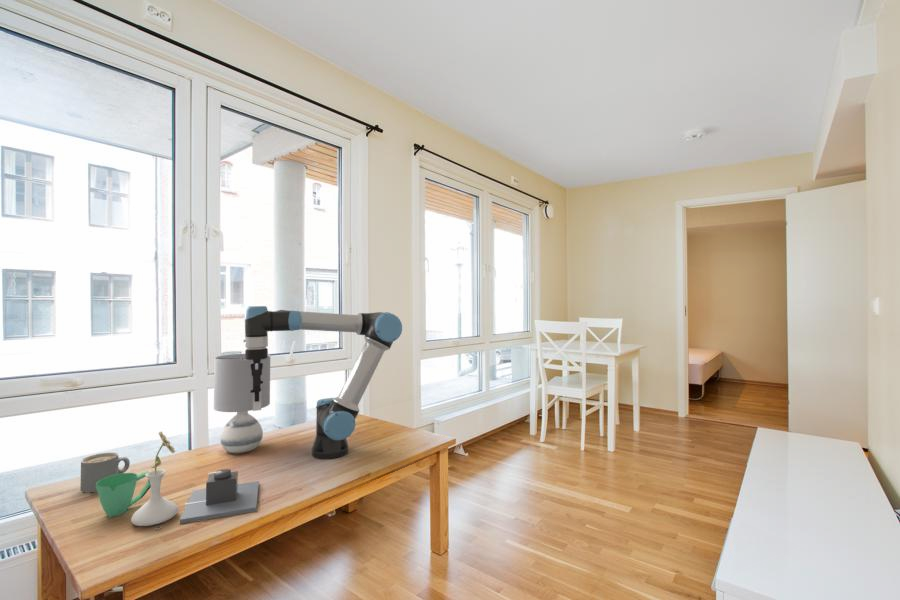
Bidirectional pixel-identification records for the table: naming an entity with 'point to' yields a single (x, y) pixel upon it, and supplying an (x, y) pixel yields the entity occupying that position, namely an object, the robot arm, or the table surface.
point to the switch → (220, 504)
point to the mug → (119, 492)
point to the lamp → (239, 400)
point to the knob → (221, 487)
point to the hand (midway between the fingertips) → (257, 405)
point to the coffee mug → (100, 469)
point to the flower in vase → (155, 496)
